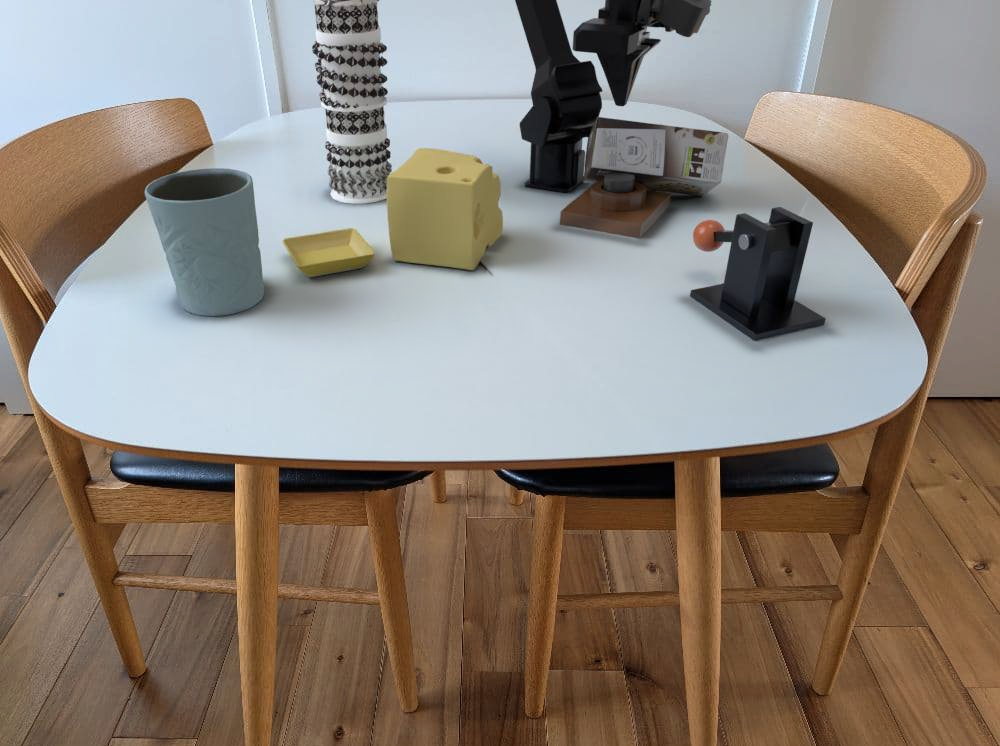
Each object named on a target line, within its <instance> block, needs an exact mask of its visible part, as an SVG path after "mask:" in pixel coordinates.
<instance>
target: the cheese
mask: <svg viewBox="0 0 1000 746" xmlns="http://www.w3.org/2000/svg"><path fill="white" fill-rule="evenodd" d="M501 190H502V187H501V179H500V176H499V174H497V173H494V172H493V166H492V165H490V164H486V163H483V161H482V159H480V158H479V157H478V156H476V155H473V154H472V155H471V154H467V153H461V152H456V151H450V150H445V149H439V148H429V147H427V148H425V147H420V148H417V149H416V150H415V151H414V153H412V155H411V156H410V157H409V158H408V159H407V160H406V161H405V162H404V163H403V164H402V165H400V166H399V167H398V168H397V169H395V170H394V171H392V172H391V173H390V175H388V177H387V198H386V210H387V211H386V212H387V227H388V237H389V244H390V245H389V246H390V250H391V256H392V260H393V261H394V262H403V263H411V264H420V265H428V266H437V267H445V268H453V269H460V270H468V271H474V270H476V268H477V267H478V265H479V264H480V263H481V260H482V258H484V257H483V256H484V255H485V254H486V249H487V247H491V246H493V245H494V243H496V242H497V240H498V239H499V238H501V236H502V234H503V228H504V217H503V211H502V209H501V208H500V207H499V201H500V198H501V192H502V191H501Z"/></svg>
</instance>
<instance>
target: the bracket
mask: <svg viewBox="0 0 1000 746" xmlns="http://www.w3.org/2000/svg"><path fill="white" fill-rule="evenodd" d="M769 215H770V216H769V220H768V222H790V235H791V249H787V250H781V251H776V252H772V248H773V244H774V239H775V234H776V229H775V228H773V227H771V226H769V225H767V224H765V223H766V222H763V221H761V220H759V219H757V218H756V217H753V216H751V215H750V214H747V213H745V212H744V213H743V212H742V213H738V214H736V215H735V220H734V228H733V230H734V231H733V236H732V242H730V247H729V254H728V259H727V264H726V270H725V274H724V278H723V279H724V280H723V283H719V284H715V285H709V286H704V287H700V288H695V289H691V290H690V293H689V297H690V298H692V299H693V300H695V301H696V302H698V303H699V304H701V305H702V306H703V307H705V308H706V309H708V310H709V311H711V313H713V314H715V315H716V316H718V317H719V318H720V319H722V320H724V321H725V322H726V323H728V324H729V325H730V326H732V327H733V328H735V329H736V330H738V331H739V332H741V333H742V334H743V335H745V336H746V337H747V338H749V339H751V340H752V341H753V342H757V341H761V340H765V339H769V338H773V337H777V336H782V335H787V334H791V333H796V332H800V331H803V330H804V331H805V330H808V329H813V328H816V327H820V326H824V325H825V323H826V319H827V318H826V317H825V316H823V315H821V314H819V313H818V312H816V311H814V310H813V309H811V308H809V307H808V306H806V305H804V304H802V303H801V302H799V301H798V300H796V295H797V291H798V286H799V283H800V279H801V275H802V270H803V266H804V261H805V258H806V253H807V251H808V247H809V246H808V245H809V243H810V242H809V241H810V238H811V233H812V229H813V225H814V222H813V221H811V220H809V219H806V218H804V217H802V216H801V215H799V214H797V213H794V212H792V211H790V210H788V209H786V208H784V207H782V206H777V207H772V208H771V211H770V214H769Z"/></svg>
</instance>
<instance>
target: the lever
mask: <svg viewBox="0 0 1000 746" xmlns="http://www.w3.org/2000/svg"><path fill="white" fill-rule="evenodd" d="M764 223H765V224H767V225H769V226H771V227H773V228H775V229H776V234H775V239H774V244H773V248H772V252H776V251H781V250H787V249H791V235H790V222H769V221H768V222H764ZM733 231H734V229H733V230H731V229H730V230H728V229H727V230H726V229H725V227H724V226H723V224H721V222H719V221H717V220H716V219H715V220H714V219H706V220H702V221H701V222H699V223H698V224H697V225H696V227H695V228H694V229H693V232H692V241H693V243H694V245H695V247H696V248H697V249H698V250H700V251H702V252H705V253H710V252H712V253H713V252H715V251H717V250H718V249H720V248H721V247H722V246H723V244H724V243H731V242H732V236H733Z"/></svg>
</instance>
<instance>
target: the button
mask: <svg viewBox="0 0 1000 746" xmlns="http://www.w3.org/2000/svg"><path fill="white" fill-rule="evenodd" d="M634 179H635V177H634V176H633V175H631V174H628V173H623V172H613V173H608V174H606V175H605V176H604V187H603V190H604V191H606V192H610V193H616V194H619V193H630V192H633V189H634Z"/></svg>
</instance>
